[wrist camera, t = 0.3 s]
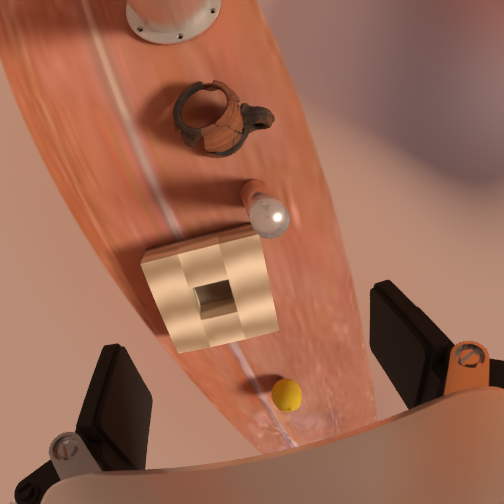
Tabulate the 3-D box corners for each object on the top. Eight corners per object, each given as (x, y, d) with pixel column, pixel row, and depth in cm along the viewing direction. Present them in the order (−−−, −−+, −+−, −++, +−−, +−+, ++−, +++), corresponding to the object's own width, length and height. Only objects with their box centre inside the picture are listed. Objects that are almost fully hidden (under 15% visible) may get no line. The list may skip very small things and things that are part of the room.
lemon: (286, 366, 58) (296, 396, 51) (300, 379, 60) (311, 409, 53) (263, 380, 59) (270, 411, 51) (278, 393, 61) (286, 422, 54)
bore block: (146, 248, 45) (140, 263, 40) (253, 221, 46) (259, 234, 41) (179, 333, 52) (178, 353, 47) (273, 312, 52) (279, 330, 48)
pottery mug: (190, 167, 42) (165, 148, 34) (190, 107, 42) (167, 80, 34) (280, 156, 40) (273, 132, 32) (273, 94, 40) (265, 61, 32)
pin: (237, 182, 43) (248, 206, 32) (266, 176, 43) (286, 197, 32) (243, 210, 45) (256, 242, 34) (271, 203, 45) (292, 233, 34)
